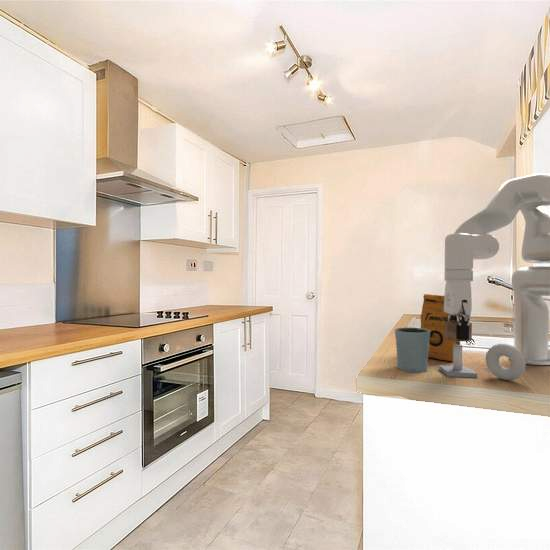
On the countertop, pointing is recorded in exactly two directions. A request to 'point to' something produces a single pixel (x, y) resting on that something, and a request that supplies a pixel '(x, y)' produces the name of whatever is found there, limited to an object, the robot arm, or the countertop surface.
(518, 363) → the donut
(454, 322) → the ring
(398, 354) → the blue grey cup
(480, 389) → the countertop surface
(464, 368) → the peg stand
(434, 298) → the coffee package
